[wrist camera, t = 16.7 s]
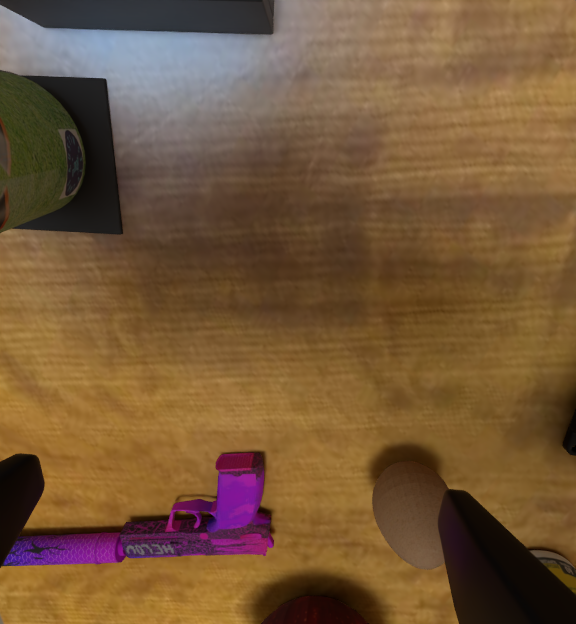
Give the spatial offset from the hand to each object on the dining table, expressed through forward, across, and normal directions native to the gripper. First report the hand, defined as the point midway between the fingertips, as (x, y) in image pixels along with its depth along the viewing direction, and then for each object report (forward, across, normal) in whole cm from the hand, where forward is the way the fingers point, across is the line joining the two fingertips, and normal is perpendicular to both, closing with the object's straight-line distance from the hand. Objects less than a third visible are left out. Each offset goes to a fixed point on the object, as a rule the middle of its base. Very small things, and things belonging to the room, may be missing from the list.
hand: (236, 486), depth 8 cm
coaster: (+13, +12, -6) cm, 19 cm away
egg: (+13, -8, +11) cm, 19 cm away
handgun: (+13, +8, +8) cm, 17 cm away
